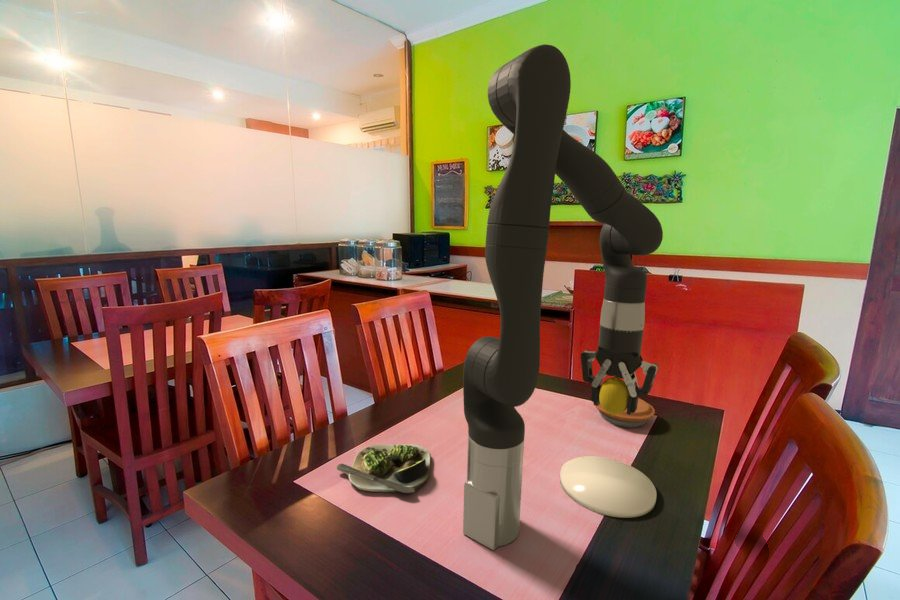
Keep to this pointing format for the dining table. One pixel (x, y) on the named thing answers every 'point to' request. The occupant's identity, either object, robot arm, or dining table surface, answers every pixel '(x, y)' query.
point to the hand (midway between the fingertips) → (613, 408)
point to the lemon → (614, 396)
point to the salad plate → (389, 468)
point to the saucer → (608, 486)
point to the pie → (633, 420)
